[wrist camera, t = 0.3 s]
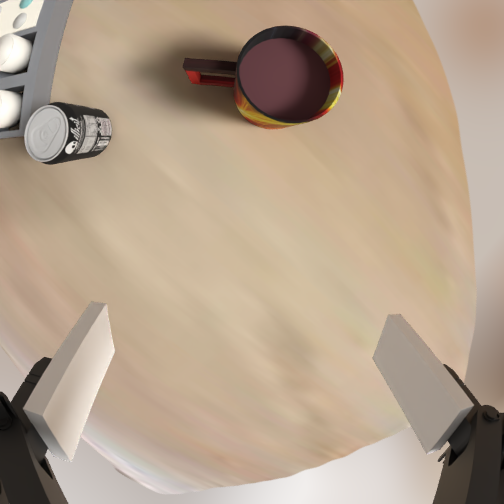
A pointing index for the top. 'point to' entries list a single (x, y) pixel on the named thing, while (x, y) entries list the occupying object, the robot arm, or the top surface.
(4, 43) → the button
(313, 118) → the mug
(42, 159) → the beverage can
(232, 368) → the top surface
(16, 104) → the button
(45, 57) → the board
